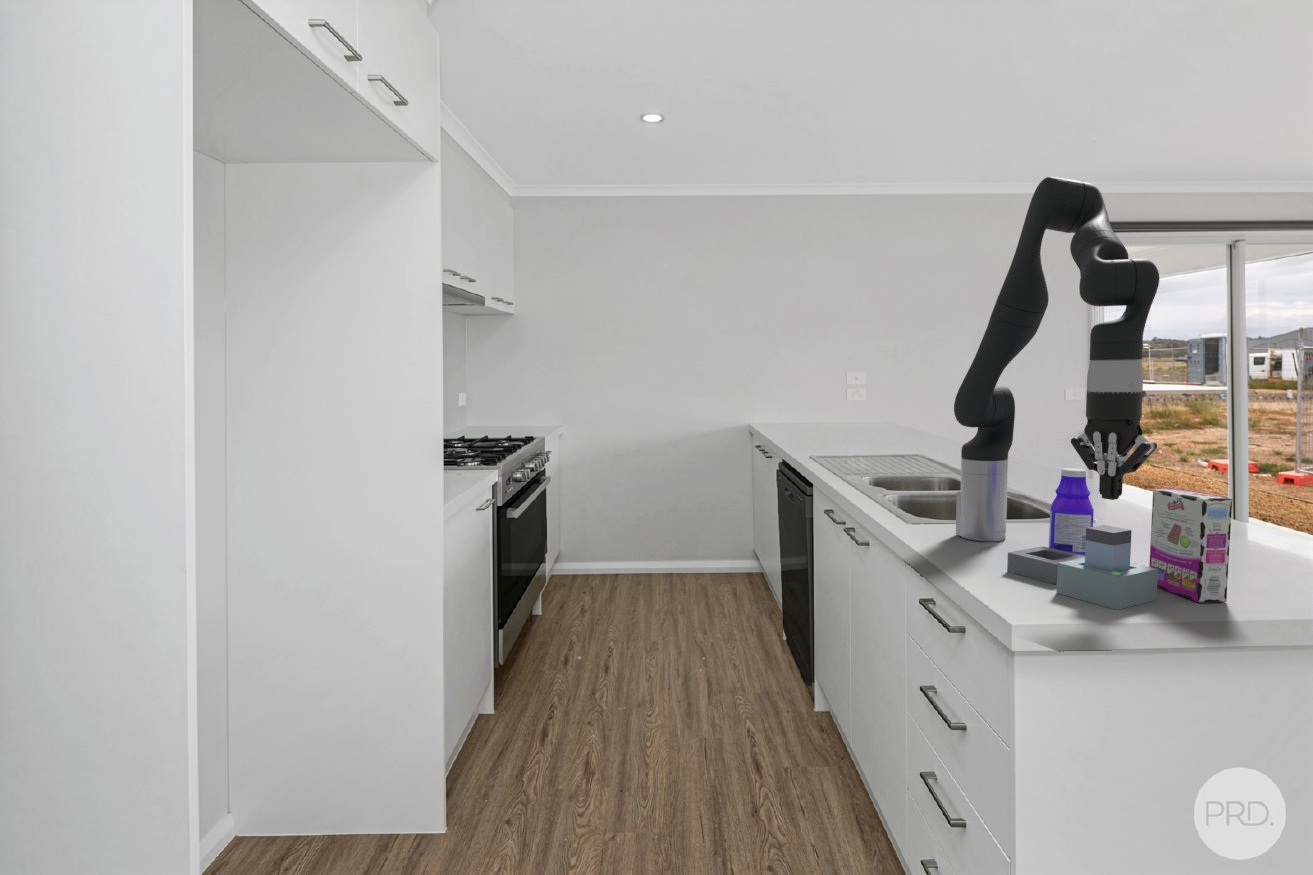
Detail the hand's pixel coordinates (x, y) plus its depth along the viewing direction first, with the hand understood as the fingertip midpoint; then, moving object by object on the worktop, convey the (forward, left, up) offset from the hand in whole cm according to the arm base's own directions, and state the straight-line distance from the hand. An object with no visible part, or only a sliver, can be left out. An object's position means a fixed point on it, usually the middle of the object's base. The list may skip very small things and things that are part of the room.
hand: (1110, 498), depth 120 cm
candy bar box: (+5, +13, -16) cm, 21 cm away
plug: (0, 0, -15) cm, 15 cm away
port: (0, 0, -16) cm, 16 cm away
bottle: (-18, +17, -16) cm, 30 cm away
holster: (-13, +4, -16) cm, 21 cm away
